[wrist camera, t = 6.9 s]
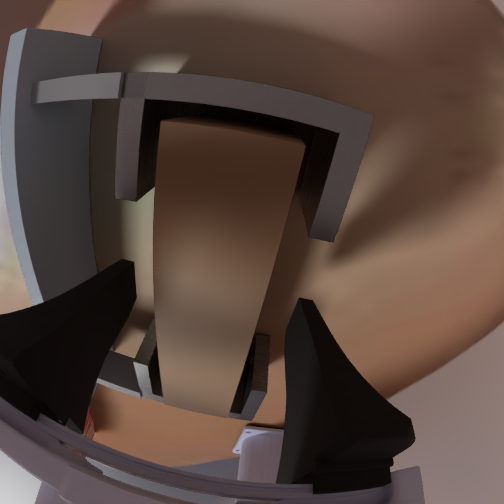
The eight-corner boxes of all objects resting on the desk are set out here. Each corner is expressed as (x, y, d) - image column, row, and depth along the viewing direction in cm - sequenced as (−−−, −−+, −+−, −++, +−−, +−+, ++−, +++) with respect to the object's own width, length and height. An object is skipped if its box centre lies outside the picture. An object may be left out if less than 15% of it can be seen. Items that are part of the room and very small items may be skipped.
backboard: (160, 366, 19) (141, 420, 15) (103, 347, 19) (78, 396, 15) (181, 34, 8) (122, 1, 4) (86, 41, 8) (11, 34, 4)
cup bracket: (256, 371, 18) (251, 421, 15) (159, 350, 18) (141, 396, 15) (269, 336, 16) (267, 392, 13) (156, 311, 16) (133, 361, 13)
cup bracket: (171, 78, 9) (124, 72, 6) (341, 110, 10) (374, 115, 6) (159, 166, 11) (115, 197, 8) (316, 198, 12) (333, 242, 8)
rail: (236, 352, 18) (227, 418, 13) (184, 341, 18) (164, 404, 13) (292, 127, 10) (305, 145, 6) (206, 112, 10) (160, 120, 6)
